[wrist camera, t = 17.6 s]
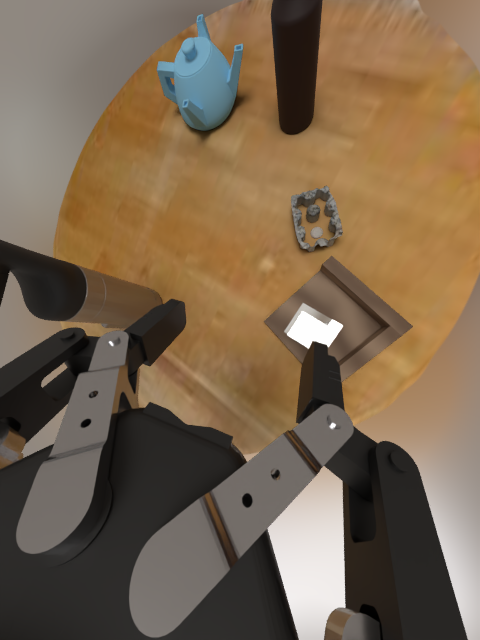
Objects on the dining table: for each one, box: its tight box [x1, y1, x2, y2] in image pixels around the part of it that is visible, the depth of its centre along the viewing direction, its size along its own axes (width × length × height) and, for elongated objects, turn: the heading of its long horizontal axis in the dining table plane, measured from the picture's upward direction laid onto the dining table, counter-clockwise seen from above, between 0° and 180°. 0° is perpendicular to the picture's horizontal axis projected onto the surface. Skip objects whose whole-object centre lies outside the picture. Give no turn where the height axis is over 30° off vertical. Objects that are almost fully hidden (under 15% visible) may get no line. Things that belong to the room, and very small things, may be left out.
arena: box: [264, 256, 413, 382], centre depth 33 cm, size 16×16×4 cm
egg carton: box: [291, 186, 343, 252], centre depth 36 cm, size 11×8×4 cm
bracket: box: [287, 312, 343, 349], centre depth 30 cm, size 6×5×10 cm
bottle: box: [271, 0, 322, 134], centre depth 31 cm, size 7×7×20 cm
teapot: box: [157, 14, 243, 131], centre depth 41 cm, size 15×15×11 cm
